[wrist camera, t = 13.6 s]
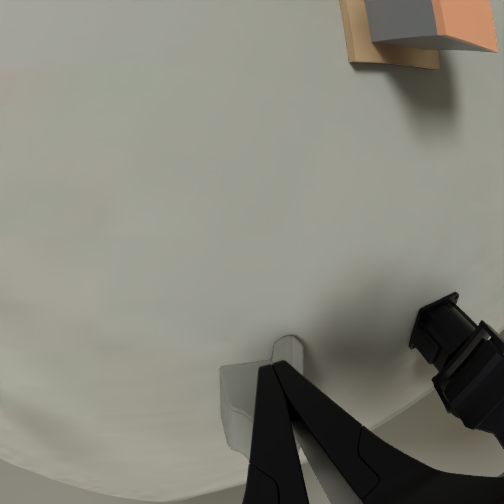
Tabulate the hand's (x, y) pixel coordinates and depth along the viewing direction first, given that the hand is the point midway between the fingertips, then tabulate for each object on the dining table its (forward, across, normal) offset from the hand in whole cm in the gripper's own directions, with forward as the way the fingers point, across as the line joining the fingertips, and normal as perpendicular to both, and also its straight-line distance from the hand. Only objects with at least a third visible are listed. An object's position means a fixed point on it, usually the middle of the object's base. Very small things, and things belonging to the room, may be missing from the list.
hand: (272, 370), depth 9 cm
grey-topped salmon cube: (+11, -14, -13) cm, 22 cm away
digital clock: (+12, 0, +19) cm, 22 cm away
